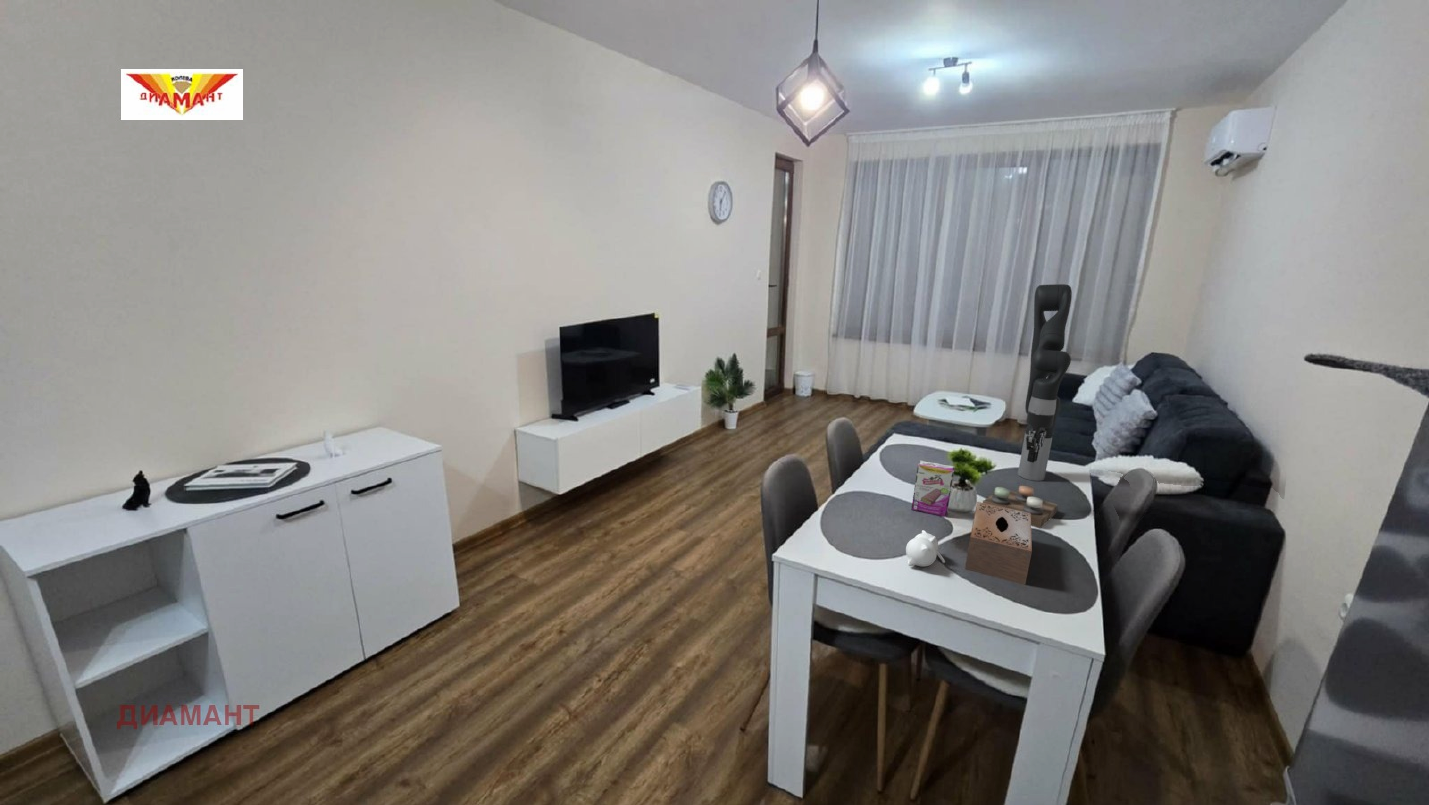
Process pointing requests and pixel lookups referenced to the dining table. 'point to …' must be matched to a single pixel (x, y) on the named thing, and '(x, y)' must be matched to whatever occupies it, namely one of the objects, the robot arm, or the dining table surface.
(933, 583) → the dining table surface
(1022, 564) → the tissue box cover
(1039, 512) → the walnut button panel
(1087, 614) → the dining table surface
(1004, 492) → the sage-green button
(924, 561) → the cat figurine
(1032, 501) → the cream button
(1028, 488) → the terracotta button
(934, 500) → the candy bar box
